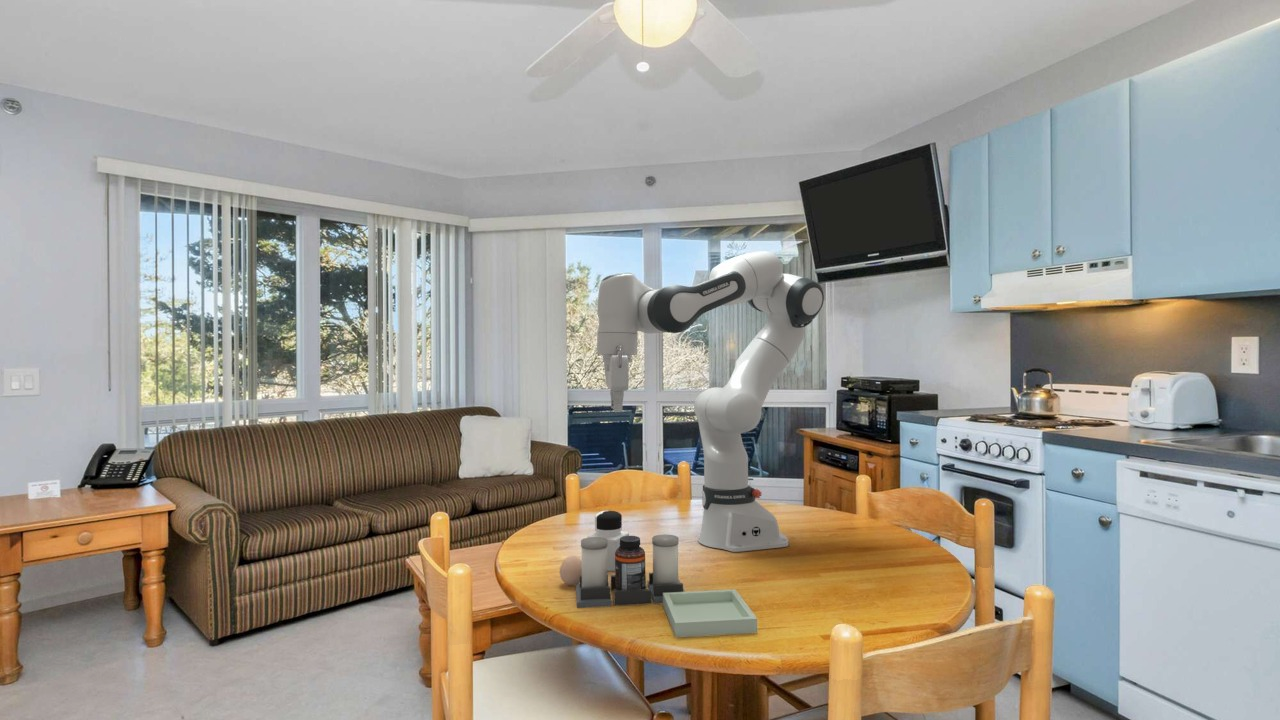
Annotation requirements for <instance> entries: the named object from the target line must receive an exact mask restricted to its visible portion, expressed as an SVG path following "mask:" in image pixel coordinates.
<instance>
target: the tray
mask: <svg viewBox="0 0 1280 720" xmlns="http://www.w3.org/2000/svg"><path fill="white" fill-rule="evenodd" d="M662 607H663V610H664V612H665V615H666V617H667V619H668V620H667V621H668V622H669V625H670V627H671V629H672V632H673V635H674V637H675V638H689V637H690V638H691V637H706V636H707V637H708V636H724V635H725V636H726V635H741V634H742V635H743V634H758V618H757V616H756V615H755V613H754V612H753V611H752V610H751V608H750V606H749V605H748V604H747V603H746V602H745V600H744V599H743V597H742V596H741V595H740V593H739V592H738V591H737V589H735V588H733V589H718V590H716V589H714V590H695V591H694V590H693V591H692V590H691V591H685V592H669V593H663V604H662Z"/></svg>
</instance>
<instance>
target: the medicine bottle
mask: <svg viewBox="0 0 1280 720" xmlns="http://www.w3.org/2000/svg"><path fill="white" fill-rule="evenodd" d="M622 515H623V514H622V513H620V512H618V511H615V510H601V511H599V512H596V513H595V516H594V531H595V532H593V533H592V534H589V535H587V537H586V538H589V537H602V538H606V539H607V540H608V546H607V572H612V573H613V572H614V573H615V552H616V550H617V549H618V548H619V546H620V538H621V537H623V536H630V532H629V531H622V530H623V527H622V526H623V524H622V523H623V521H622V520H623V518H622Z"/></svg>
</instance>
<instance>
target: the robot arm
mask: <svg viewBox="0 0 1280 720" xmlns="http://www.w3.org/2000/svg"><path fill="white" fill-rule="evenodd" d="M783 270H784V269H783V265H782V262H781V260H780V259H779V257H778V256H777V255H776V254H775V253H774V252H771V251H768V250H761V251H753V252H747V253H744V254H740V255H738V256H734V257H731V258H729V259H726V260H724V261H723V262H721V263H719V264H717V265H716V266H713V268H712V269H711V271H710V273H709V276H708V277H709V278H708V280H705V281H703V282H701V283H698V284H695V285H693V286H687V285H686V286H685V285H679V284H670V285H667V286H664V287H662V288H658V289H654V288H652V287H650V286H648V285H646V284H645V283H644V282H642V281H641V280H639V279H638V278H637V277H636V275H635V274H634V273H632V272H622V273H616V274H611V275H607V276H605V277H603V279H602V280H601V281H600V284H599V287H598V295H597V317H598V328H597V333H596V338H597V339H596V342H597V343H596V354H597V355H600V356H602V363H603V366H604V367H603V368H604V374H605V375H604V376H605V384H606V387H607V389H609V391H610V393H609V394H610V401H611V402H610V408H611V409H612V410H613V411H614V412H615V413H621V412H623V403H624V397H625V396H624V395H625V393H624V392H627V391H629V378H630V376H629V372H630V371H629V368H630V366H629V365H630V364H631V363H632V356H637V355H638V334H639V333H638V332H641V333H644V334H663V333H665V334H666V333H669V334H679V333H682V332H684V331H686V330H688V329H689V328H691V326H692V325H693V324H694V323H695V322H696V321H697V320H698V319H699V318H700V317H701V316H702V315H703V314H705V313H708V312H710V311H712V310H714V309H717V308H718V307H721V306H725V307H727V306H734V305H739V304H742V303H746V302H747V303H748V304H749V306H751V307H752V308H753V309H754V310H756V311H758V312H761V313H766V314H768V316H767V320H766V323H765V325H764V326H763V327H762V328H761V329H760V330H759V331H758V332H757V334H756V335H755V336H754V338H753V339H752V340H751V341H750V342H749V344H748V345H747V347H745V349H744V350H743V351H742V353H741V354H740V355H739V356H738V358H737V359H736V361H735V363H734V369H733V371H732V374H731V376H730V378H729V379H728V382H727V383H726V384H725V385H724V386H723V387H719V386H718V387H717V386H716V387H715V386H714V387H709V388H708V389H706V390H704V391H702V392H700V393H699V395H697V396H696V398H695V400H694V404H693V410H694V415H695V416H696V419H697V423H698V428H699V434H700V441H701V445H702V451H703V452H702V453H703V465H704V467H703V471H704V472H703V473H704V474H703V475H704V477H703V481H704V482H703V483H704V484H703V485H702V491H701V493H702V494H701V495H702V497H701V501H702V507H703V511H702V513H703V514H702V523H701V527H700V532H699V535H698V538H697V540H698V542H699V543H700V544H701V545H703V546H705V547H708V548H709V547H710V548H713V549H714V548H715V549H721V550H726V551H729V552H732V553H733V552H734V553H738V552H739V553H742V552H749V551H758V550H767V549H769V550H770V549H775V548H776V549H778V548H785V547H786V548H787V547H788V546H789V539H788V537H787V536H786V535H785V534H784V533H782V532H780V529H779V528H780V527H779V523H778V520H777V518H776V517H775V516H774V514H773V513H771V512H770V511H769V510H768V509H767V508H765V507H764V506H763V505H762V504H760V503H759V502H758V501H756V499H761V497H762V495H763V494H762V491H761V490H759V489H758V488H754V487H752V486H750V485H749V456H748V453H747V451H746V448H745V446H744V443H743V439H742V435H741V434H743V433H747V432H750V431H752V430H754V429H755V428H756V427H757V426H758V425H759V423H760V422H761V419H762V408H763V404H764V403H765V400H766V398H767V396H768V394H769V392H770V390H771V388H772V387H773V385H774V384H775V382H776V381H777V379H778V378H779V377H780V375H782V373H783V372H784V370H785V368H787V366H788V365H789V364H790V362H791V361H792V359H793V358H794V357H795V355H796V353H797V351H798V350H799V348H800V347H801V344H802V342H803V340H804V337H805V335H806V332H805V327H807V326H809V325H811V323H812V322H813V320H814V319H815V318H816V317H817V315H819V313H820V311H821V309H822V307H823V305H824V300H825V299H824V298H825V297H824V295H825V294H824V290H823V287H822V286H821V285H820V283H818V282H817V281H815V280H813V279H811V278H809V277H801V276H800V275H795V274H790V273H783ZM629 363H630V364H629Z"/></svg>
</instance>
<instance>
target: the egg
mask: <svg viewBox="0 0 1280 720" xmlns="http://www.w3.org/2000/svg"><path fill="white" fill-rule="evenodd" d="M580 576H582V559H580V558H578V556H575V555H570V556H567V557H566V558H564V559H563V561H562V563H561V565H560V567H559V577H560V579H561V581H562V582H563V583H564V584H566V585H568V586H576V584H580Z"/></svg>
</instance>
